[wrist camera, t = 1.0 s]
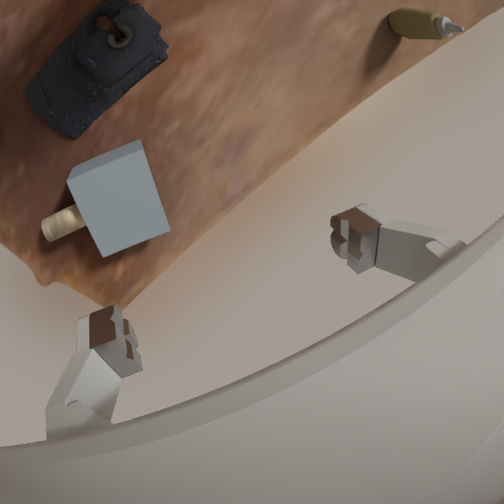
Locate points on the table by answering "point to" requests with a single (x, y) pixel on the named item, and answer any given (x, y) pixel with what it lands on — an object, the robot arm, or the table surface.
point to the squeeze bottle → (422, 24)
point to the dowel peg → (62, 223)
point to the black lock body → (96, 67)
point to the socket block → (118, 198)
